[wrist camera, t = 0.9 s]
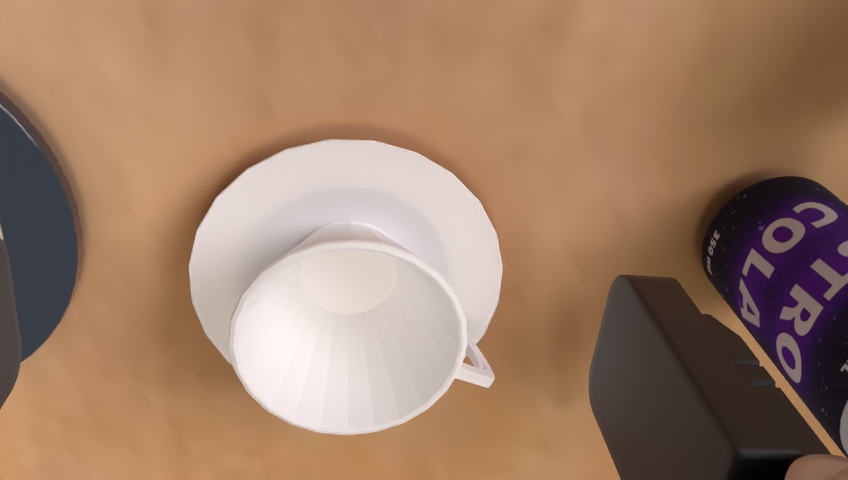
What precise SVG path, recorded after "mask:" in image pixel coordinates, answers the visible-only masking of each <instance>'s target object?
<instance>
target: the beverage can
mask: <svg viewBox="0 0 848 480" xmlns="http://www.w3.org/2000/svg"><path fill="white" fill-rule="evenodd" d="M702 263H703V268H704V271H705V273H706V275H707V277H708V279H709V280H710V282H711V283H712V284H713V286H714V287H715V288H716V289H717V291H718V292H719V293H720V295H721V296H722V297H723V298H724V300H725V301H726V302H727V304H728V305H729V306H730V308H731V309H732V310H733V311H734V313H735V314H736V315H737V317H738V318H739V319H740V320H741V322H742V323H743V324H744V326H745V327H746V328H747V330H748V331H749V332H750V333H751V335H752V336H753V337H754V339H755V340H756V341H757V342H758V344H759V345H760V346H761V348H762V349H763V350H764V352H765V353H766V354H767V355H768V357H769V358H770V359H771V361H772V362H773V363H774V364H775V366H776V367H777V368H778V370H779V371H780V372H781V374H782V375H783V376H784V377H785V379H786V380H787V381H788V383H789V384H790V385H791V387H792V388H793V389H794V390H795V392H796V393H797V394H798V396H799V397H800V398H801V399H802V401H803V402H804V403H805V405H806V406H807V407H808V409H809V410H810V411H811V412H812V414H813V415H814V416H815V418H816V419H817V420H818V421H819V423H820V424H821V425H822V427H823V428H824V429H825V431H826V432H827V433H828V434H829V436H830V437H831V438H832V440H833V441H834V442H835V443H836V445H837V446H838V447H839V449H840V450H841V451H842V453H843V454H844V455H845V456H846V457H847V458H848V205H846V204H845V203H844V202H842V201H841V200H840V199H839V198H837V197H836V196H835V195H834V194H832V193H831V192H830V191H829V190H827V189H826V188H825V187H823V186H822V185H821V184H819V183H817V182H815V181H813V180H810V179H807V178H802V177H794V176H785V177H777V178H772V179H768V180H764V181H762V182H759V183H756V184H754V185H752V186H750V187H748V188H746V189H745V190H743V191H741V192H740V193H738V194H737V195H736V196H734V197H733V198H732V199H731V200H729V201H728V202H727V203H726V204H725V205H724V206H723V207H722V208H721V210H720V211H719V212H718V213H717V214H716V216H715V217H714V219H713V220H712V222H711V224H710V225H709V227H708V230H707V232H706V234H705V237H704V241H703V246H702Z"/></svg>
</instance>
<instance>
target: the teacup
mask: <svg viewBox="0 0 848 480" xmlns="http://www.w3.org/2000/svg"><path fill="white" fill-rule="evenodd" d="M188 266H189V277H190V288H191V299H192V303H193V306H194V308H195V311H196V313H197V315H198V318H199V320H200V323H201V325H202V327H203V330H204V332H205V334H206V336H207V337H208V338H209V339H210V341H211V342H212V343H213V344H214V345H215V347H216V348H217V349H218V350H219V352H220V353H221V354H222V355H223V357H224V358H225V359H226V360H227V362H229V363H230V364H231V365H233V368H234V371H235V372H236V374H237V376H238V377H239V379H240V381H241V382H242V384H243V386H244V387H245V389H246V391H247V392H248V393H249V394H250V395H251V396H252V397H253V398H254V399H255V400H256V401H257V402H258V403H259V404H260V405H261V406H262V407H263V408H264V409H265V410H267V411H268V412H270V413H272V414H273V415H275V416H277V417H279V418H280V419H282V420H284V421H286V422H288V423H289V424H291V425H294V426H298V427H301V428H304V429H308V430H311V431H315V432H318V433H328V434H339V435H354V434H363V433H371V432H378V431H381V430H384V429H387V428H390V427H393V426H396V425H399V424H402V423H405V422H406V421H408V420H410V419H412V418H413V417H415V416H417V415H419V414H420V413H422V412H424V411H425V410H427V409H428V408H429V407H430V406H432V405H433V404H434V403H435V402H436V401H437V400H438V399H439V398H440V397H441V396H442V395H443V394H444V393H445V392H446V391H447V390H448V388H449V387H450V385H451V384H452V382H453V380H454V379H460V380H463V381H467V382H470V383H473V384H476V385H480V386H483V387H486V388H489V387H490V385H491V384H492V382H493V381H494V379H495V376H494V374H493V372H492V370H491V368H490V366H489V364H488V362H487V361H486V359H485V358H484V356H483V354H482V353H481V351H480V350H479V348H478V347H477V346H476V344H477V342H478V341H479V340H480V339H481V338H482V336H483V335H484V334H485V332H486V329H487V327H488V325H489V323H490V320H491V318H492V316H493V314H494V311H495V309H496V307H497V305H498V301H499V294H500V286H501V279H502V271H503V267H502V261H501V255H500V250H499V244H498V238H497V234H496V232H495V230H494V228H493V226H492V224H491V222H490V220H489V218H488V216H487V214H486V212H485V210H484V208H483V206H482V204H481V202H480V201H479V200H478V199H477V198H476V197H475V196H474V195H473V194H472V193H471V192H470V191H469V190H468V189H467V188H466V187H465V186H464V184H463V183H462V182H461V181H460V180H459V179H458V178H457V177H456V176H455V175H454V174H453V173H451V172H450V171H448V170H446V169H444V168H443V167H441V166H439V165H438V164H436V163H434V162H432V161H431V160H429V159H427V158H426V157H424V156H422V155H421V154H419V153H417V152H414V151H410V150H407V149H403V148H400V147H396V146H392V145H389V144H385V143H382V142H378V141H375V140H340V139H328V140H324V141H319V142H315V143H310V144H306V145H301V146H297V147H292V148H288V149H285V150H283V151H281V152H279V153H277V154H275V155H273V156H271V157H269V158H267V159H265V160H263V161H261V162H259V163H257V164H255V165H253V166H251V167H249V168H247V169H246V170H245V171H244V172H243V173H242V174H241V175H239V176H238V177H237V178H236V179H235V180H234V181H233V182H232V183H231V184H230V185H229V186H227V187H226V188H225V189H224V190H223V191H222V192H221V193H220V194H219V195H218V196H216V198H215V200H214V202H213V203H212V205H211V207H210V208H209V210H208V212H207V213H206V215H205V217H204V218H203V220H202V222H201V223H200V225H199V227H198V228H197V231H196V235H195V239H194V244H193V248H192V252H191V257H190V261H189V265H188ZM467 355H468V357H469V358H470V360H471V362H472V364H473V365H474V367H473V366H470V365H468V364H466V363H463V360H464V358H465V357H466V356H467Z"/></svg>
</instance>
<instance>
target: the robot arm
mask: <svg viewBox="0 0 848 480" xmlns="http://www.w3.org/2000/svg"><path fill="white" fill-rule="evenodd" d="M20 362H21V336H20V329H19V322H18V315H17V308H16V301H15V294H14V287H13V280H12V273H11V266H10V259H9V254H8V250H7V247H6V245H5V243H4V242H3V240H2V239H1V238H0V409H1V407H2V406H3V404H4V402H5V401H6V399H7V397H8V396H9V394H10V392H11V391H12V389H13V387H14V385H15V382H16V379H17V376H18V372H19V368H20ZM759 362H760V361H759V360H758V359H757V358H756V356H755V355H754V354H753V352H752V351H751V350H750V349H749V347H748V346H747V345H746V343H745V342H744V341H743V339H742V338H741V337H740V336H739V335H737V334H736V333H735V332H733V331H732V330H730V329H729V328H728V327H726V326H725V325H723V324H722V323H721V322H719V321H718V320H716V319H715V318H714V317H712V316H711V315H708V314H701V313H700V311H699V310H698V308H697V307H696V306H695V304H694V303H693V302H692V300H691V299H690V297H689V296H688V295H687V293H686V292H685V291H684V289H683V288H682V286H681V285H680V284H679V282H678V281H677V280H676V279H674V278H670V277H653V276H636V275H619V276H618V277H616V279H615V280H614V282H613V283H612V286H611V289H610V292H609V296H608V300H607V304H606V307H605V311H604V315H603V319H602V323H601V327H600V331H599V335H598V339H597V343H596V347H595V351H594V355H593V359H592V363H591V367H590V373H589V397H590V403H591V407H592V411H593V414H594V416H595V418H596V421H597V423H598V426H599V428H600V430H601V433H602V435H603V438H604V440H605V442H606V445H607V447H608V449H609V452H610V454H611V457H612V459H613V461H614V464H615V466H616V469H617V471H618V473H619V476H620V478H621V480H848V458H846V457H842V456H837V455H831V453H830V452H829V451H828V449H827V448H826V447H825V446H824V444H823V443H822V442H821V440H820V439H819V438H818V437H817V435H816V434H815V433H814V431H813V430H812V429H811V427H810V426H809V425H808V424H807V422H806V421H805V420H804V418H803V417H802V416H801V415H800V413H799V412H798V411H797V409H796V408H795V407H794V405H793V404H792V403H791V402H790V400H789V399H788V398H787V396H786V395H785V394H784V393H783V391H782V390H781V389H780V388H776V387H775V383H776V382H775V381H774V380H773V378H772V377H771V376H770V374H769V373H768V372H767V371H766V369H765V368H764V367H762V366H759Z"/></svg>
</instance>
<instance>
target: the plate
mask: <svg viewBox="0 0 848 480" xmlns="http://www.w3.org/2000/svg"><path fill="white" fill-rule="evenodd" d="M0 238H1V239H2V240H3V242H4V243H5V245H6V247H7V250H8V254H9V259H10V266H11V273H12V280H13V287H14V294H15V301H16V308H17V315H18V322H19V329H20V336H21V362H22V361H24V360H25V359H26V358H28V357H29V356H31V355H32V354H33V353H34V352H35V351H36V350H37V349H38V348H39V347H40V346H41V345H42V344H43V343H44V342H45V341H46V340H47V339H48V338H49V337H50V335H51V334H52V333H53V331H54V330H55V329H56V327H57V326H58V324H59V323H60V322H61V320H62V318H63V316H64V314H65V312H66V310H67V308H68V306H69V304H70V302H71V300H72V298H73V296H74V293H75V290H76V286H77V283H78V280H79V276H80V269H81V261H82V231H81V225H80V220H79V215H78V210H77V206H76V203H75V200H74V197H73V194H72V191H71V188H70V186H69V183H68V180H67V178H66V176H65V174H64V172H63V171H62V169H61V167H60V165H59V163H58V161H57V159H56V157H55V155H54V154H53V152H52V151H51V149H50V148H49V146H48V145H47V143H46V142H45V140H44V139H43V137H42V136H41V134H40V133H39V132H38V130H37V129H36V128H35V127H34V126H33V125H32V123H31V122H30V121H29V120H28V119H27V118H26V116H25V115H24V114H23V113H22V112H21V110H20V109H19V108H18V107H17V106H16V105H14V104H13V103H12V102H11V101H10V100H9V99H8V98H7V97H6V96H5V95H4V94H3V93H2V92H1V91H0ZM21 362H20V363H21Z"/></svg>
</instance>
